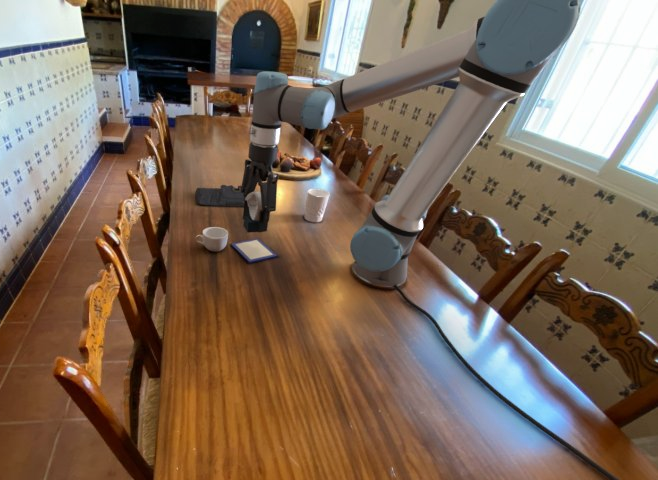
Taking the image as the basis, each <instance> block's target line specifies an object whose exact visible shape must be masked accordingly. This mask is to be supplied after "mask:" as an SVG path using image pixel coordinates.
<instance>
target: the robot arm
mask: <svg viewBox="0 0 658 480" xmlns="http://www.w3.org/2000/svg"><path fill="white" fill-rule="evenodd" d="M581 1H582V0H496V1H495V2H494V3H493V4H491V5H492V6H491V7H490V8H489V9H488V11H487V12H486V14H485V15H484V16H482V17H480V18H478V19H476V20H475V21H474V23H473V24H472V25H471V27H470V28H467V29H466V30H463V31H461V32H458V33H456V34H452V35H451V36H448V37H445V38H443V39H441V40H438V41H435V42H433V43H431V44H428V45H425V46H422V47H420V48H418V49H415V50H413V51H411V52H410V51H409V52H408V53H406V54H403V55H401V56H397V57H396V58H393V59H390V60H388V61H385V62H382V63H380V64H378V65H376V66H373V67H370V68H368V69H365V70H362V71H360V72H357V73H356V74H352V75H350V76H348V77H345V78H343V79H339V80H337V81H335V82H332V83H330V84H327V85H323V86H317V87H310V88H306V87H298V86H293V85H290V84H289V77H288V75H287V74H286V73H283V72H278V71H264V70H263V71H261V72H258V73H257V75H256V77H255V84H254V91H253V93H252V94H253V102H252V115H251V126H250V131H249V133H250V135H249V136H250V137H249V141H250V143H249V144H248V155H247V157H248V159H247V158H246V159H244V170H243V176H242V177H243V178H242V180H241V185H240V186H241V193H243V194H244V197H245V198H246V197H247V195H248V194H249V193H251V192H254V191H256V189H257V186H258V187H259V192H261V202H262V210H260V216H259V224H258V232H257V233H265V232H267V231H268V226H269V221H270V216H271V212H276V211H277V193H278V180H279V178H278V177H279V175H278V173H277V174H274V173H273V172H272V164H273V162H275V161H276V159H277V152H278V149H279V146H278V145H279V144H280V138H281V131H282V123H287V124H290V125H295V126H299V127H303V128H307V129H308V130H313V129H314V130H319V131H321V130H322V131H323V130H325V129H326V128H327V127H328V125H330V123H331V121H332V120H333V119H336V118H339V117H340V116H343V115H346V114H350V113H352V112H356V111H358V110H361V109H365V108H368V107H370V106H374V105H377V104H379V103H383V102H386V101H389V100H392V99H396V98H398V97H402V96H404V95H407V94H410V93H413V92H417V91H421V90H423V89H425V88H429V87H432V86H435V85H438V84H442V83H446V82H447V81H450V80H453V79H456V78H458V79H459V82H458V83H457V84H458V85H457V86H456V88H455V89H454V91H453V92H452V94H451V96H450V97H449V99H448V100H447V102H446V103H445V105H444V107H443V108H442V110H441V111H440V113H439V115H438V116H437V118H436V119H435V121H434V122H433V124H432V126H431V128H430V129H429V131H428V132H427V134H426V135H425V137H424V139H423V141H421V144H420V145H419V146H418V148H417V150H416V151H415V153H414V155H413V156H412V158H411V160H410V161H409V162H408V165H407V166H406V167H405V169H404V171H403V172H402V174H401V175H400V177H399V179H398V180H397V182H396V183H395V185H394V187H393V188H392V190H391V191H390V193H389V194H386V195H384V196H382V198H381V200H379V201H377V202H376V203H375V204H374V206H373V207H372V209H371V211H370V212H369V214H368V216H367V217H366V219H365V221H364V222H363V224H362V226H361V227H360V228H358V229H357V230H356V231H355V232H354V233H353V235H352V238H351V239H350V244H349V249H350V253H351V256H352V258H353V260H354V261H353V263H352V267H351V273H352V275H353V276H354V278H355V279H357V280H358V281H360V282H361V283H363V284H364V285H367V286H369V287H372V288H375V289H378V290H379V289H380V290H389V291H390V290H396V291H397V292H398V293H399V295H401V297H402V298H403V299H404V300H405V302H406V303H408V304H409V305H410V306H412V307H413V308H414V309H416V310H417V311H419V312H420V313H422V314H423V315H424V316H426V317H427V318H428V319H429V320H430V321H431V322H432V324H433V325H434V327H435V328H436V331H437V332H438V333H439V335H440V336H441V338H442V339H443V341H444V342H445V343H446V345H447V346H448V348H450V351H452V353H453V354H454V355H455V356H456V357H457V359H458V360H459V361H460V362H461V363H462V364H463V366H465V368H466V369H468V371H469V372H470V373H471V374H472V375H473V376H474V377H475V378H476V379H477V380H478V381H479V382H480V383H481V384H483V386H485V387H486V388H487V389H488V390H489V391H490V392H492V394H494V395H495V396H496V397H497V398H499V399H500V400H501V401H502V402H504V403H505V404H506V405H508V406H509V407H510V408H511V409H513V410H514V411H515V412H517V414H519V415H521V417H522V418H524V419H526V420H527V421H528V422H529V423H531V424H532V425H534V426H535V427H537V428H538V429H539V430H541V431H542V432H544V433H545V434H547V435H548V436H550V437H551V439H554V440H555V441H557V442H558V443H559V444H560V445H562V446H563V447H564V448H566V449H567V450H569V451H570V452H571V453H573V454H574V455H576V456H577V457H579V458H580V459H582V460H583V461H584V462H585V463H587V464H588V465H589V466H591V467H592V468H594V469H595V470H596V471H598V472H599V473H601V474H602V475H603V476H605V477H606V478H607V479H609V480H620V479H619V478H618V477H616V476H615V475H613V474H612V473H610V472H609V471H608V470H606V469H605V468H604V467H602V466H601V465H599V464H598V463H596V462H595V461H594V460H592V459H591V457H588V456H587V455H586V454H584V453H583V452H581V451H580V450H579V449H577V448H576V447H574V446H573V445H572V444H570V443H569V442H567V441H566V440H565V439H563V438H562V437H561V436H559V435H557V434H556V433H555V432H554V431H552V430H550V429H548V427H546V426H545V425H543V424H542V423H540V422H539V421H538V420H536V419H535V418H533V417H532V416H531V415H529V414H528V413H526V412H525V411H524V410H523V409H521V408H520V407H518V406H517V404H515V403H513V402H512V401H511V400H510V399H508V398H507V397H506V396H504V395H503V394H502V393H501V392H499V391H498V390H497V389H496V388H494V387H493V386H492V384H490V383H489V382H488V381H487V380H486V379H485V378H484V377H482V375H480V374H479V373H478V372H477V371H476V370H475V369H474V368H473V367H472V365H470V364H469V363H468V361H467V360H466V359H465V358H464V357H463V355H461V354H460V352H459V351H458V350H457V348H455V346H454V345H453V343H452V342H451V341H450V339H449V338H448V337H447V336H446V334H445V333H444V331H443V330H442V328H441V326H440V324H439V323H438V322H437V320H436V319H435V318H434V317H433V316H432V315H431V314H430V313H429V312H428V311H426V310H425V309H423V308H422V307H420V306H419V305H417V304H416V303H414V302H413V301H411V300H410V299H409V298H408V297H407V295H406V294H405V293H404V292H403V290H402V289H401V288H402V287H403V286H404V285H405V283H406V281H407V278H408V262H409V261H408V260H409V256H410V254H411V252H412V249H413V246H414V244H415V242H416V240H417V237H418V235H419V234H420V233H421V231H422V230H423V228H424V221H425V219H426V218H427V214H428V211H429V209H430V207H431V206H432V205H433V204H434V202H435V200H436V199H437V198H438V197H439V195H440V193H442V191H443V189H444V188H445V187H446V186H447V184H448V183H449V182H450V181H451V179H452V177H453V176H454V175H455V173H456V172H457V170H458V169H459V168H460V166H461V165H462V164H463V163H464V161H465V160H466V159H467V157H468V156H469V154H470V153H471V152H472V151H473V149H474V147H475V146H476V145H477V143H478V142H479V141H480V139H481V138H482V137H483V135H484V134H485V133H486V132H487V129H488V128H489V127H490V126H491V124H492V123H493V122H494V120H495V119H496V117H498V115H499V113H500V112H501V111H502V110H503V108H504V107H505V105H506V104H507V103H508V102H510V101H512V100H515V99H518V98H520V97H523V96H524V95H525V94H526V93H527V91H528V90H529V89H530V88H531V86H532V85H533V83H534V82H535V81H536V80H537V79H538V77H539V76H540V74H541V73H542V72H543V70H544V69H545V68H546V66H547V65H548V64H549V62H550V61H551V59H553V57H554V55H556V54H557V53H558V52H559V51H560V50H561V49H562V47H564V45H565V44H566V42H568V40H569V39H570V37H571V36H572V34H573V32H574V30H575V29H576V26H577V24H578V20H579V17H580V14H581V9H582V8H581V4H582V2H581ZM245 187H246V188H245ZM249 209H250V208H249V207H248V203H247V200H245V199H244V207H243V212H242V213H243V214H242V220H244V216H250V212H249ZM251 210H252V209H251Z"/></svg>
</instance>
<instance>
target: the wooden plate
mask: <svg viewBox="0 0 658 480" xmlns="http://www.w3.org/2000/svg"><path fill="white" fill-rule="evenodd" d="M321 166H322V158H321V157H314V158H312V159H310V160H309V158H308V157H307V156H303V155H302V156H300V155H299V156H295V155H290V154H288V153H287V152H285V153H284V154H282V151H281V150H280V149H279V148H278V152H277V159H276V161H275V162H273V164H272V172H273V173H274V174H277V173H278V175H279V177H278V179H282V180H290V181H291V180H292V181H305V180H311V179H316V178H317V177H319V176H320V175H321V174H322V172H323V170H322V169H323V168H322V167H321Z"/></svg>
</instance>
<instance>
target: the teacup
mask: <svg viewBox="0 0 658 480" xmlns="http://www.w3.org/2000/svg"><path fill="white" fill-rule="evenodd" d="M198 238H200V239H201V240H202V241H200V240H198ZM228 238H229V231H228V230H227V229H226V228H223V227H219V226H209V227H206V228H204V229H203V230H202V234H197V235H196V236H195V242H196V243H198V244H200V245H203V246H204V247H205V248H206V249H207V250H208V251H210V252H220V251H223V250H224V249H225V248H226V247H227V244H228Z"/></svg>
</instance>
